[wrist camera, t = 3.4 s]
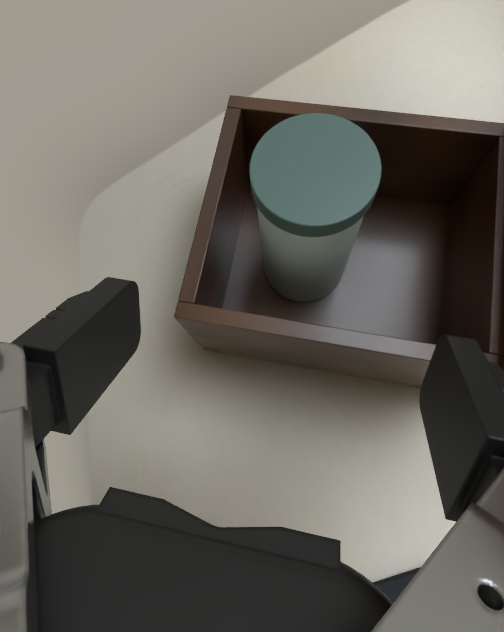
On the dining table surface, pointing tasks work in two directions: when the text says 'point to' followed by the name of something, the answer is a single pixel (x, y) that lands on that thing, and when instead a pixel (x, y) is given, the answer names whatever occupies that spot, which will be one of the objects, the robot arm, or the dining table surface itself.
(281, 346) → the chest
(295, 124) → the canister
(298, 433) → the dining table surface
